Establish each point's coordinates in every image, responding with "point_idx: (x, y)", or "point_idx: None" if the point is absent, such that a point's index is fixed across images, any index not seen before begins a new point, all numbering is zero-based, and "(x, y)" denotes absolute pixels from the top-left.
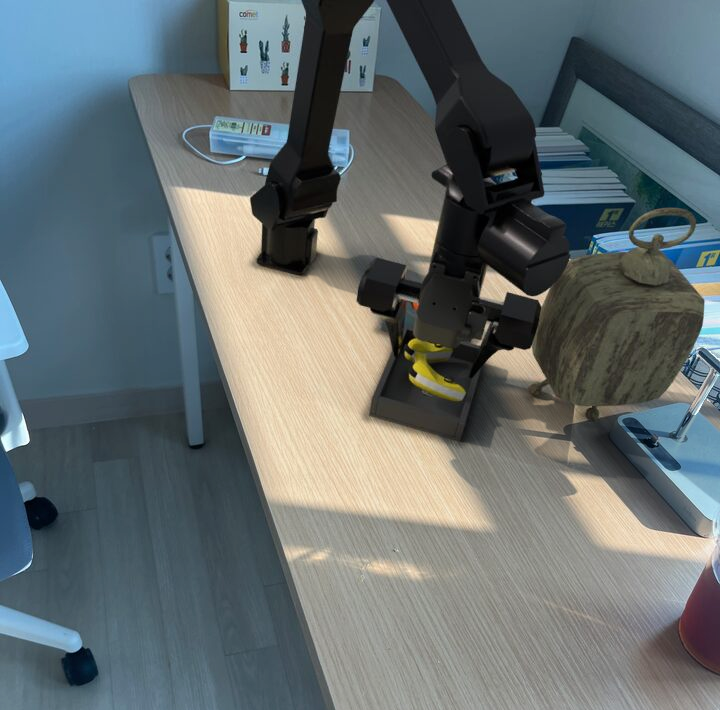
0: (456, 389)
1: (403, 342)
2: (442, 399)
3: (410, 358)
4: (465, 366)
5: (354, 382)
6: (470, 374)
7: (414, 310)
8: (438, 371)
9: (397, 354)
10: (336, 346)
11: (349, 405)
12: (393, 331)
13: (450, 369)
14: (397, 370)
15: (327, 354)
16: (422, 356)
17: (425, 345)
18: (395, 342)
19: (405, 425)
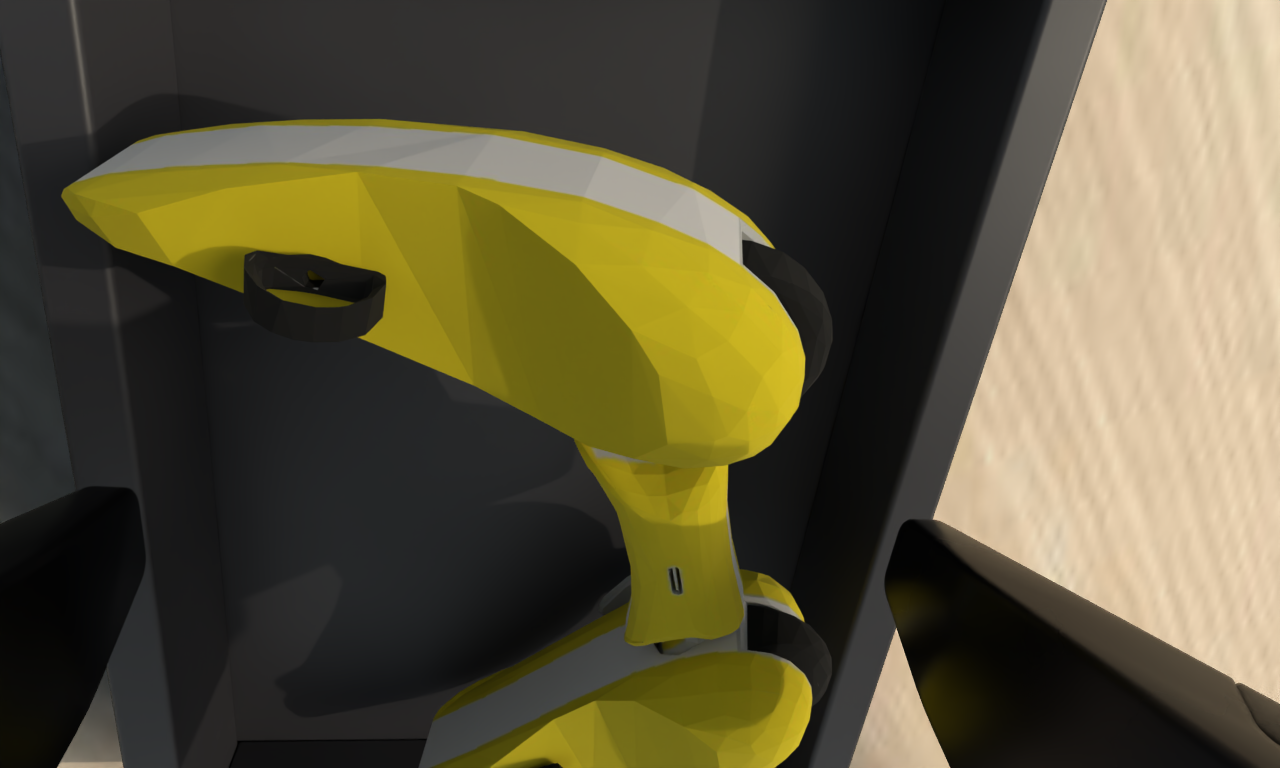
0: (181, 176)
1: None
2: None
3: (750, 581)
4: (305, 692)
5: (1075, 298)
6: (95, 507)
7: None
8: (490, 582)
9: (932, 535)
10: (1152, 583)
11: (1141, 17)
12: (1264, 737)
13: (406, 630)
14: (787, 495)
15: (1218, 500)
16: (682, 591)
17: (654, 740)
18: (1077, 620)
19: None
